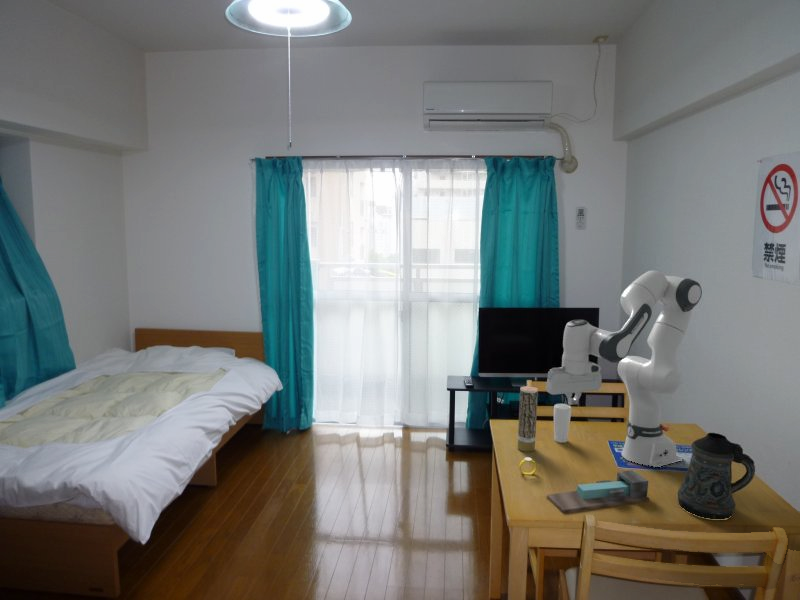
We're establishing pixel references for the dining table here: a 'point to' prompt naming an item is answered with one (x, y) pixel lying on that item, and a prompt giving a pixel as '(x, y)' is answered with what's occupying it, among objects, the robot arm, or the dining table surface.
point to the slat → (602, 489)
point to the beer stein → (713, 477)
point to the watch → (527, 461)
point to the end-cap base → (576, 503)
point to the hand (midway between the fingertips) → (572, 404)
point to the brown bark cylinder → (527, 418)
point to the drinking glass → (561, 422)
